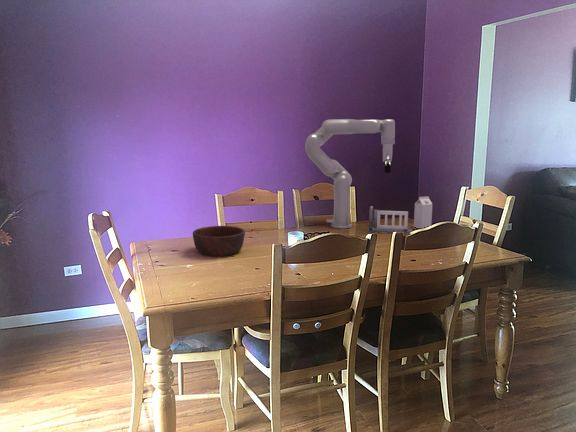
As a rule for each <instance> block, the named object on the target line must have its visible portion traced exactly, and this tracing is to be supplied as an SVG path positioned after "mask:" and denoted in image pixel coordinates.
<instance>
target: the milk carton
mask: <svg viewBox="0 0 576 432" xmlns="http://www.w3.org/2000/svg"><path fill="white" fill-rule="evenodd" d="M413 215H414V216H413V228H414V227H416V228H424V227H427V226H430V225H431V226H432V220H433V219H432V217H433V202H432V201H431V199H430V196H419V197H418V199H417V200H416V201H415V202H414V214H413ZM416 228H415V229H416Z"/></svg>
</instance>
